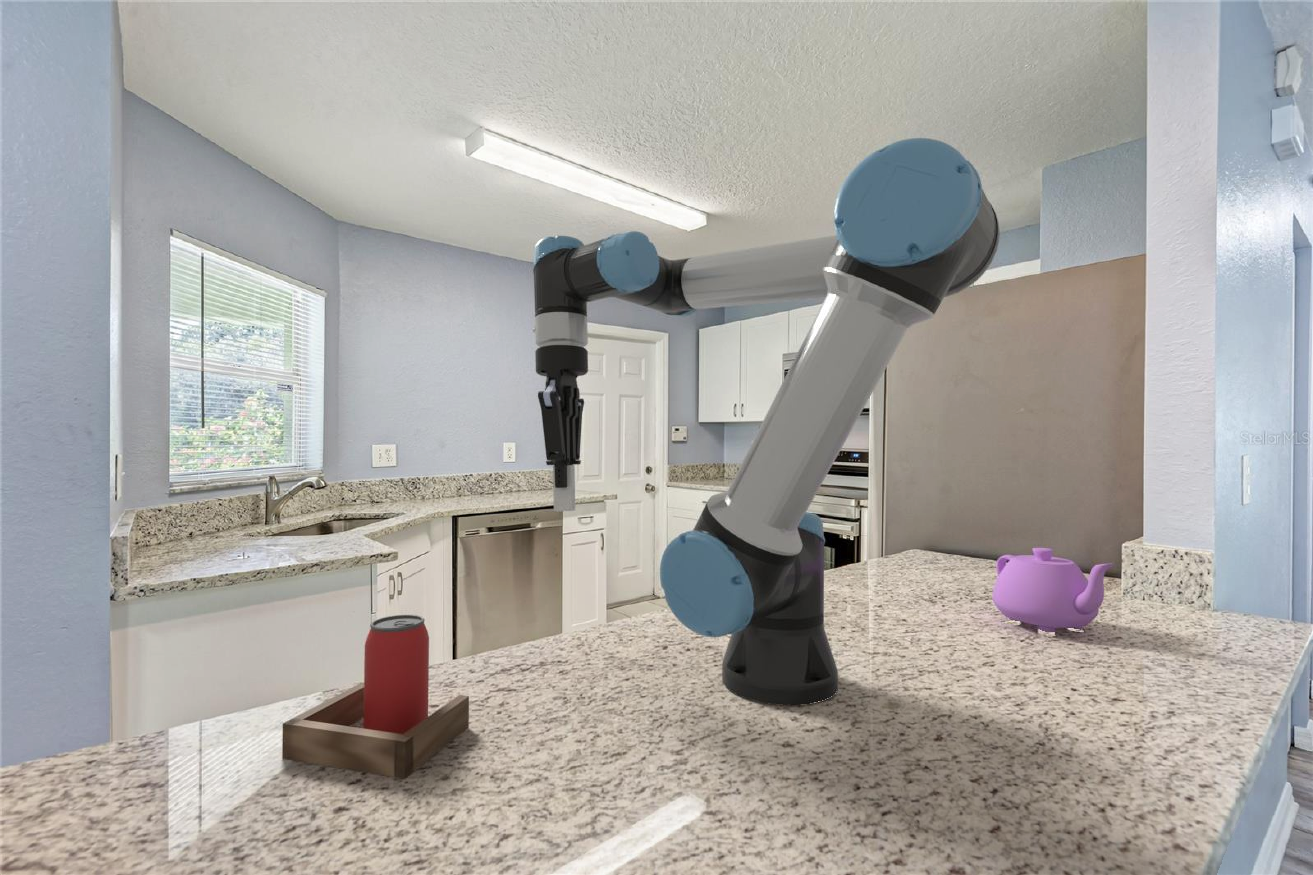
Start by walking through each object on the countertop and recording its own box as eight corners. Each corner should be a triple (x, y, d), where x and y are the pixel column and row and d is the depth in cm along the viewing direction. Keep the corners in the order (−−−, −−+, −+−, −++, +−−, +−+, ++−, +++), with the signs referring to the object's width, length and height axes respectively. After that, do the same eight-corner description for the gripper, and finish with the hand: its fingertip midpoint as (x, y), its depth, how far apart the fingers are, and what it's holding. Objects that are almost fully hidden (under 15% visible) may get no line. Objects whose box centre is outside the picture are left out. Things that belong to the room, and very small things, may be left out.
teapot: (1148, 643, 97) (1147, 558, 97) (1077, 653, 92) (1076, 563, 92) (1026, 608, 118) (1025, 538, 118) (963, 615, 113) (962, 542, 113)
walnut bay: (468, 727, 67) (468, 696, 67) (404, 779, 57) (405, 741, 57) (360, 712, 71) (361, 682, 71) (282, 758, 61) (282, 723, 61)
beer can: (405, 747, 63) (407, 631, 63) (349, 741, 64) (351, 628, 64) (439, 719, 69) (440, 614, 70) (387, 714, 70) (389, 611, 71)
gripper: (553, 356, 94) (556, 507, 93) (518, 340, 82) (521, 515, 81) (599, 353, 93) (602, 506, 92) (571, 337, 80) (574, 514, 79)
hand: (564, 510), depth 86 cm, fingers closed
